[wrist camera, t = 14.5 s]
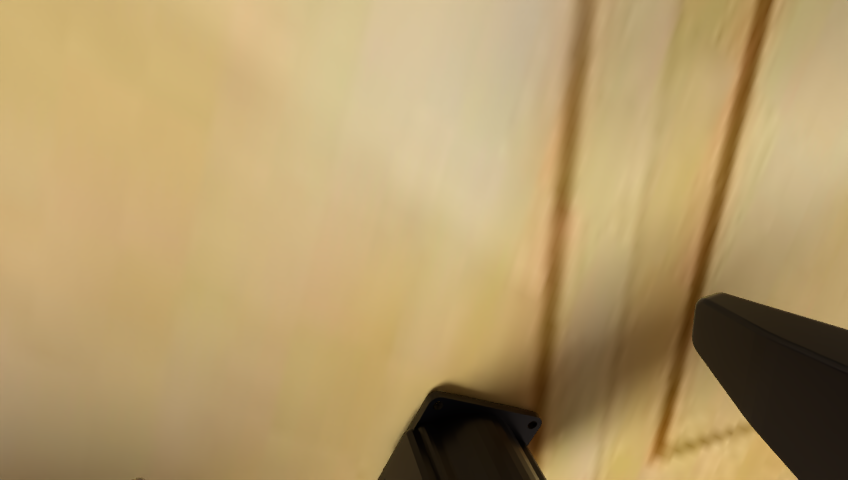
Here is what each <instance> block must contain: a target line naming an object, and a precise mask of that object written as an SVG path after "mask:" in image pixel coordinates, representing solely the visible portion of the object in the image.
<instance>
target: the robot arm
mask: <svg viewBox="0 0 848 480" xmlns="http://www.w3.org/2000/svg"><path fill="white" fill-rule="evenodd" d="M692 341H693V344H694V347H695V349H696V351H697V352H698V354H699V355H700V356H701V358H702V359H703V360H704V362H705V363H706V365H707V366H708V367H709V369H710V370H711V372H712V373H713V374H714V376H715V377H716V378H717V380H718V381H719V383H720V384H721V385H722V387H723V388H724V390H725V391H726V392H727V394H728V395H729V396H730V398H731V399H732V401H733V402H734V403H735V405H736V406H737V408H738V409H739V410H740V412H741V413H742V414H743V416H744V417H745V418H746V419H747V421H748V422H749V423H750V425H751V426H752V427H753V428H754V429H755V431H756V432H757V433H758V434H759V435H760V436H761V438H762V439H763V440H764V441H765V442H766V443H767V444H768V446H769V447H770V448H771V449H772V450H773V451H774V452H775V453H776V455H777V456H778V457H779V458H780V459H781V460H782V461H783V463H784V464H785V465H786V466H787V467H788V468H789V469H790V470H791V472H792V473H793V474H794V475H795V476H796V477H797V478H798V480H848V330H847V329H843V328H840V327H836V326H833V325H830V324H826V323H823V322H820V321H816V320H813V319H810V318H806V317H803V316H800V315H796V314H793V313H789V312H786V311H783V310H779V309H776V308H773V307H769V306H766V305H763V304H759V303H756V302H752V301H749V300H746V299H742V298H739V297H736V296H732V295H729V294H726V293H716V294H712V295H709V296H706V297H703V298H700V299H699V300H698V301H697V303H696V305H695V312H694V321H693V330H692ZM439 401H440V402H439ZM436 402H439V403H437V404H435V403H436ZM541 424H542V421H541V419H540V418H539V416H538V414H537V413H536V412H533V411H528V410H524V409H519V408H515V407H510V406H505V405H501V404H496V403H492V402H487V401H482V400H478V399H473V398H469V397H464V396H459V395H455V394H450V393H446V392H441V391H436V392H432V393H431V394H429V395H428V396H427V397H426V399H425V401H424V402H423V404H422V406H421V408H420V409H419V411H418V413H417V414H416V416H415V418H414V420H413V421H412V423H411V425H410V426H409V428H408V430H407V431H406V432H405V433H404V435H403V437H402V438H401V440H400V442H399V444H398V445H397V447H396V449H395V450H394V452H393V454H392V456H391V457H390V459H389V461H388V462H387V464H386V466H385V467H384V469H383V472H382V474H381V476H380V478H379V479H378V480H546V478H545V476H544V475H543V473H542V471H541V470H540V468H539V466H538V464H537V463H536V461H535V459H534V457H533V456H532V454H531V452H530V450H529V449H528V447H527V445H528V444H529V442H530V441H531V440H532V438H533V437H534V435H535V434H536V432H537V431H538V429H539V428H540V426H541ZM133 480H145V479H144V478H136V479H133Z"/></svg>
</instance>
